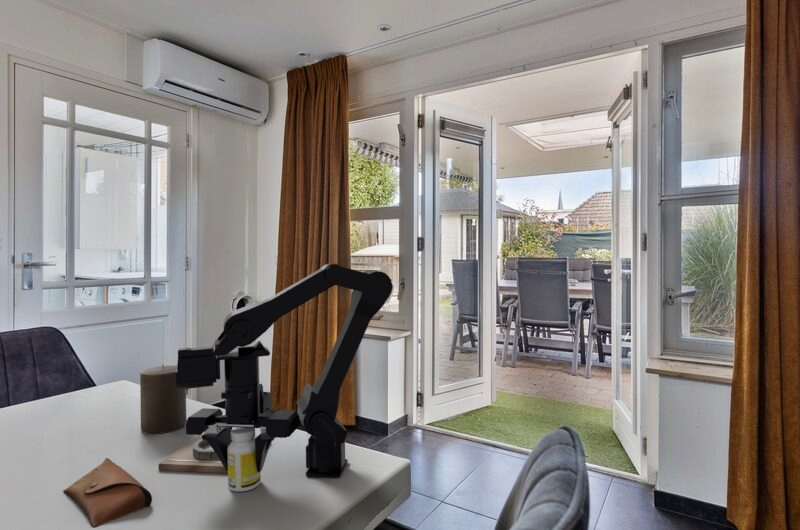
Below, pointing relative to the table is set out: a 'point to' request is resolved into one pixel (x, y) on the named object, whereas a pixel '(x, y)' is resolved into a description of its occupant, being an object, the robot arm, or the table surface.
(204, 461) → the brown board with ring
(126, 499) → the sunglasses case
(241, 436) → the supplement bottle
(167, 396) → the pillar candle
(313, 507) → the table surface
